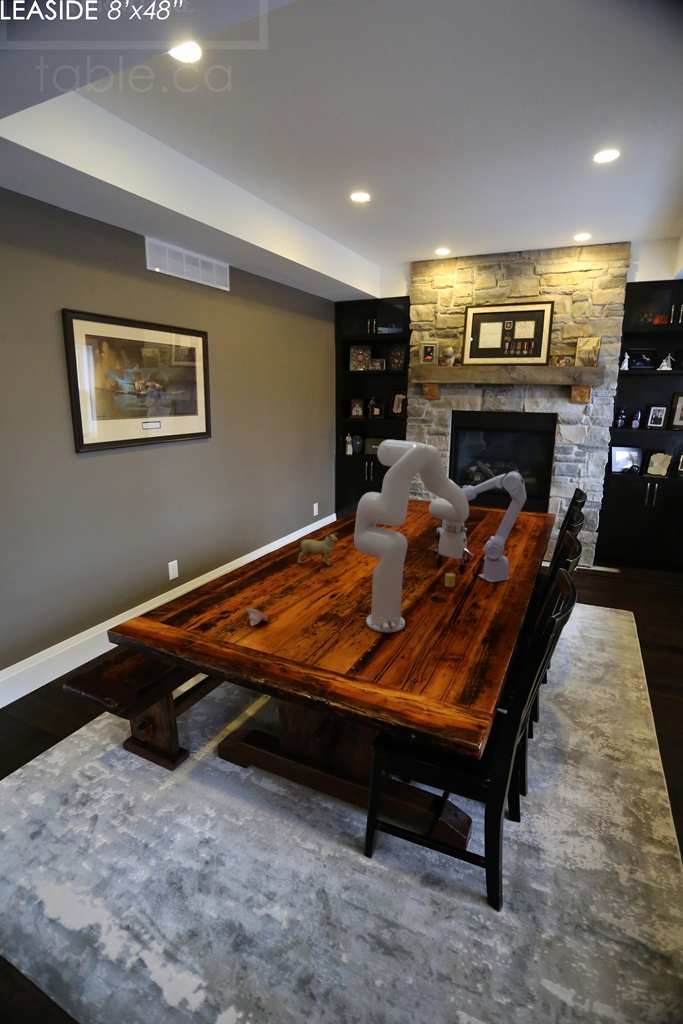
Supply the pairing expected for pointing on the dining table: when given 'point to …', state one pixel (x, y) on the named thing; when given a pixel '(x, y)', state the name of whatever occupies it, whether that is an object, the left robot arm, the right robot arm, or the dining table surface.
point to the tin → (449, 579)
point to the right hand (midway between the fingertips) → (447, 553)
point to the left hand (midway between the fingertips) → (450, 570)
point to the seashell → (255, 616)
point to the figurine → (487, 544)
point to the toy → (318, 548)
